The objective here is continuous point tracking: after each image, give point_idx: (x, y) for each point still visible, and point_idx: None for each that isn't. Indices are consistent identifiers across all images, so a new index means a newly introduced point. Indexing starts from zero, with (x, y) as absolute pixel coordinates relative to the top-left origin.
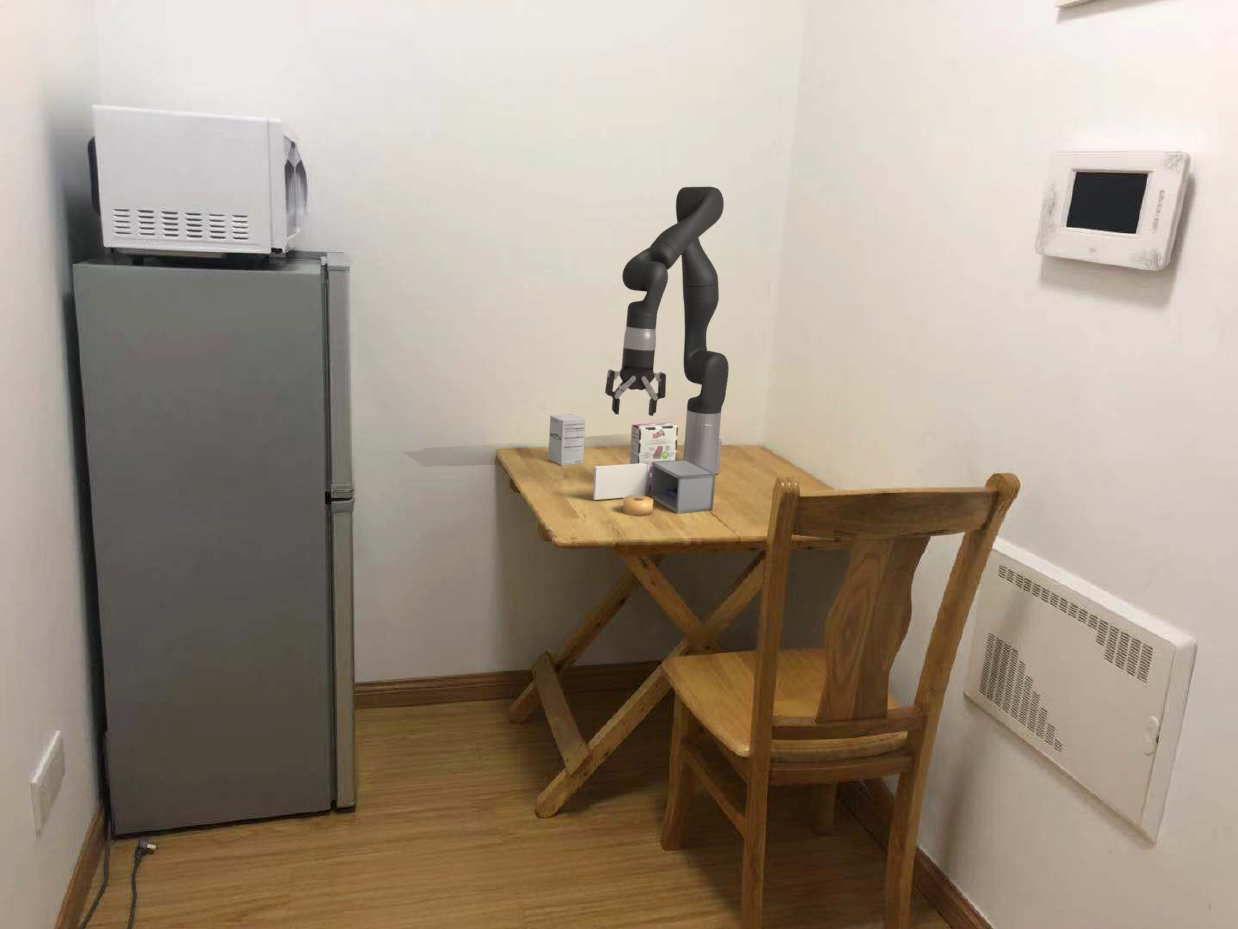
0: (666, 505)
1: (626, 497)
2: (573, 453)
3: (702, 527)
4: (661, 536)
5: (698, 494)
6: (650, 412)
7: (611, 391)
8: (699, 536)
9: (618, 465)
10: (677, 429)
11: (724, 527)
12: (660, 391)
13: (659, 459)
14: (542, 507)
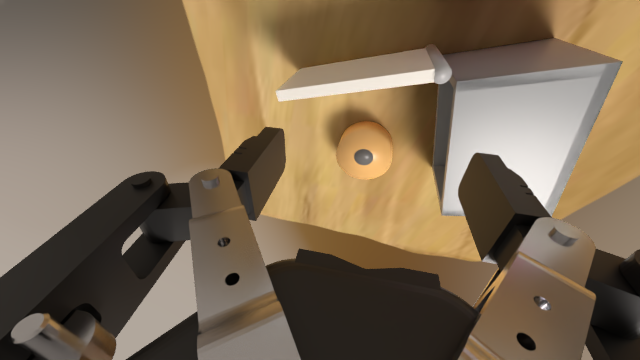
0: (435, 131)
1: (345, 143)
2: None
3: (430, 224)
4: (356, 233)
5: None
6: (464, 195)
7: (171, 251)
8: (404, 244)
9: (340, 88)
10: None
11: (464, 231)
12: (595, 353)
13: None
14: (213, 97)
